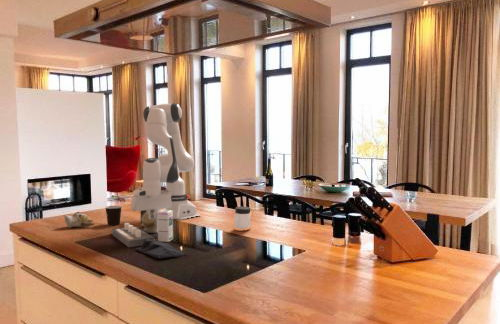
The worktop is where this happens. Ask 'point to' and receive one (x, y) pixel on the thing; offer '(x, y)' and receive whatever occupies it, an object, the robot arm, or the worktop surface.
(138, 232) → the breaker paddles
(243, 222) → the jar
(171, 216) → the syrup box
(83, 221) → the ceramic sculpture
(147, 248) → the dark slate chunk
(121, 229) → the breaker panel
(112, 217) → the coffee mug
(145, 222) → the coffee box
